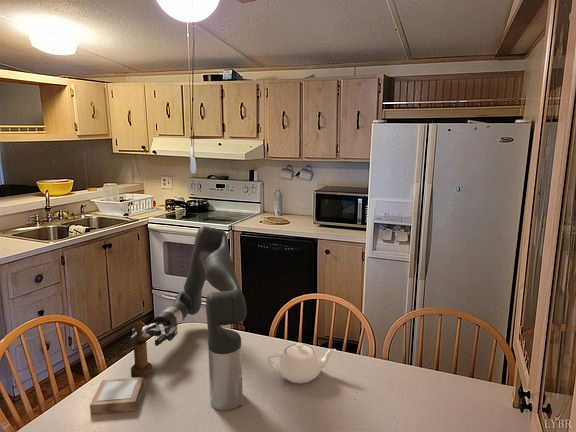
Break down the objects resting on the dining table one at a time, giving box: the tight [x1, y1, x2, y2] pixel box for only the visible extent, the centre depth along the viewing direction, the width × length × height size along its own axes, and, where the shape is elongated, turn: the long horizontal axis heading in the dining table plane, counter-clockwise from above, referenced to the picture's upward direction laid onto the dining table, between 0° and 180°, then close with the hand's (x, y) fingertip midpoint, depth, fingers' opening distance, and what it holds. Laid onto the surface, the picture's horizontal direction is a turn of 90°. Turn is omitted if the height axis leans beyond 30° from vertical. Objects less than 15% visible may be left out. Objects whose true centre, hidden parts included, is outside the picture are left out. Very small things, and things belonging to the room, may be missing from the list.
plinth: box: [89, 377, 145, 416], centre depth 121 cm, size 12×12×3 cm
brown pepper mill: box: [130, 320, 154, 379], centre depth 133 cm, size 7×6×18 cm
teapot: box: [267, 342, 337, 384], centre depth 133 cm, size 22×14×11 cm, turn 94°
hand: (143, 341), depth 134 cm, fingers open, 8 cm apart
